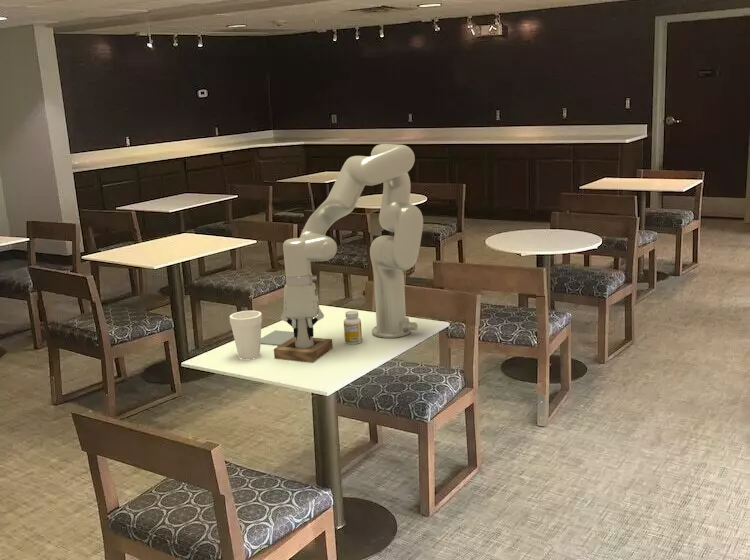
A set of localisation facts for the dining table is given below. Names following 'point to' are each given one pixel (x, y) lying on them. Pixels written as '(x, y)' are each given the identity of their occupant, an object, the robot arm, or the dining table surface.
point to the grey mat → (277, 337)
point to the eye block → (303, 350)
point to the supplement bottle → (352, 328)
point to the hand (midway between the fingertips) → (304, 338)
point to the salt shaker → (303, 334)
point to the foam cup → (247, 333)
